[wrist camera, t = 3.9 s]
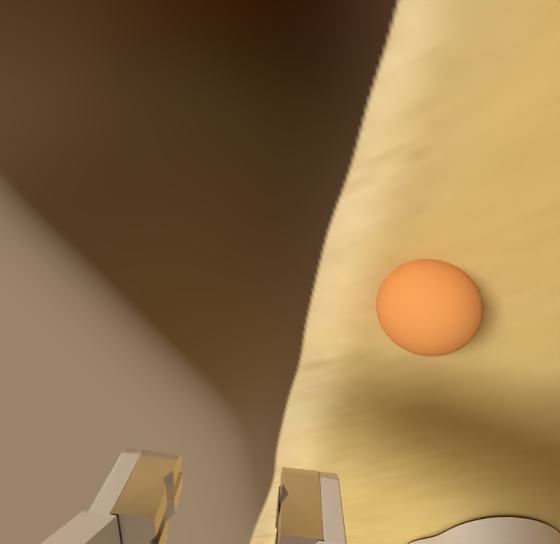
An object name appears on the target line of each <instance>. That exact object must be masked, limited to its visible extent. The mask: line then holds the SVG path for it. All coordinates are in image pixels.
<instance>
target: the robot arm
mask: <svg viewBox="0 0 560 544" xmlns="http://www.w3.org/2000/svg"><path fill="white" fill-rule="evenodd" d="M181 465H182V455H176V454H169V453H162V452H155V451H148V450H142V449H134V448H126V449H125V450H124V451H123V452H122V453H121V455H120V457H119V459H118V460H117V462H116V464H115V465H114V467H113V469H112V471H111V473H110V474H109V476H108V478H107V479H106V481H105V483H104V485H103V487H102V488H101V490H100V492H99V494H98V495H97V497H96V499H95V501H94V502H93V504H92V506H91V508H90V510H89V511H82V512H80V513H79V514H78V515H77V516H75V517H74V518H73V519H72V520H70V521H69V522H68V523H66V524H65V525H64V526H63V527H61V528H60V529H59V530H58V531H56V532H55V533H54V534H53V535H51V536H50V537H49V538H47V539H46V540H45V541H44V542H42V543H41V544H165V541H166V538H167V535H168V519H170V518H171V517H172V516H173V515H174V514H175V510H176V508H177V504H178V501H179V497H180V493H181V488H182V473H181V472H180V468H181ZM275 527H276V528H277V532H276V538H275V544H347V542H346V534H345V526H344V518H343V510H342V502H341V494H340V485H339V478H338V476H337V474H335V473H325V472H318V471H313V470H304V469H294V468H285V467H283V468H282V473H281V485H280V486H279V492H278V500H277V511H276V525H275ZM409 544H560V533H559V532H558V531H557V530H555V529H554V528H552V527H550V526H548V525H546V524H544V523H541V522H538V521H534V520H530V519H524V518H515V517H497V518H487V519H481V520H476V521H472V522H468V523H465V524H462V525H459V526H457V527H454V528H452V529H450V530H448V531H446V532H444V533H442V534H440V535H438V536H435V537H432V538H427V539H422V540H418V541H414V542H412V543H409Z"/></svg>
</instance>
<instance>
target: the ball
mask: <svg viewBox="0 0 560 544" xmlns="http://www.w3.org/2000/svg"><path fill="white" fill-rule="evenodd" d="M376 310H377V316H378V319H379V322H380V325H381V327H382V329H383V330H384V332H385V333H386V335H387V336H388V337H389V338H390V339H391V340H392V341H393V342H394V343H395V344H397V345H398V346H399V347H401V348H403V349H404V350H407V351H409V352H411V353H414V354H417V355H423V356H441V355H446V354H449V353H452V352H455V351H457V350H459V349H460V348H462V347H463V346H465V345H466V344H467V343H468V342H469V341H470V340H471V339H472V338H473V337H474V335H475V334H476V332H477V331H478V329H479V326H480V323H481V320H482V310H483V309H482V300H481V297H480V294H479V291H478V289H477V287H476V286H475V284H474V283H473V281H472V280H471V279H470V278H469V277H468V276H467V275H466V274H465V273H464V272H463V271H461V270H460V269H458V268H457V267H455V266H453V265H451V264H449V263H446V262H443V261H439V260H431V259H421V260H415V261H411V262H408V263H406V264H403V265H401V266H399V267H398V268H396V269H395V270H394V271H392V272H391V273H390V274H389V275H388V276H387V277H386V279H385V280H384V281H383V283H382V285H381V287H380V289H379V292H378V295H377V300H376Z"/></svg>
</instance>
